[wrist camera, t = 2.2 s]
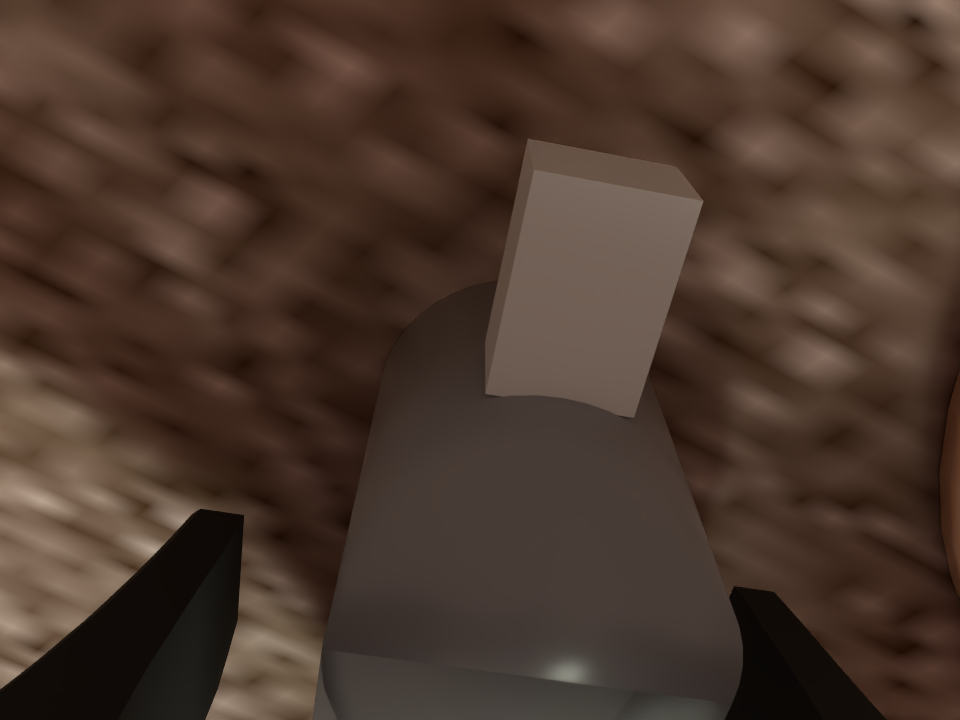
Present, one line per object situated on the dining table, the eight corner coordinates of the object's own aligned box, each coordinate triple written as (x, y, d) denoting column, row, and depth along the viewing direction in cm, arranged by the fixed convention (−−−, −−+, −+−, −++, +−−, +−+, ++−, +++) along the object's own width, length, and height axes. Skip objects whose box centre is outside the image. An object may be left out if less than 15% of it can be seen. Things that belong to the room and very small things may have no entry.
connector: (543, 731, 16) (566, 1048, 11) (333, 704, 15) (272, 1020, 11) (737, 143, 10) (921, 308, 6) (424, 83, 10) (380, 212, 6)
